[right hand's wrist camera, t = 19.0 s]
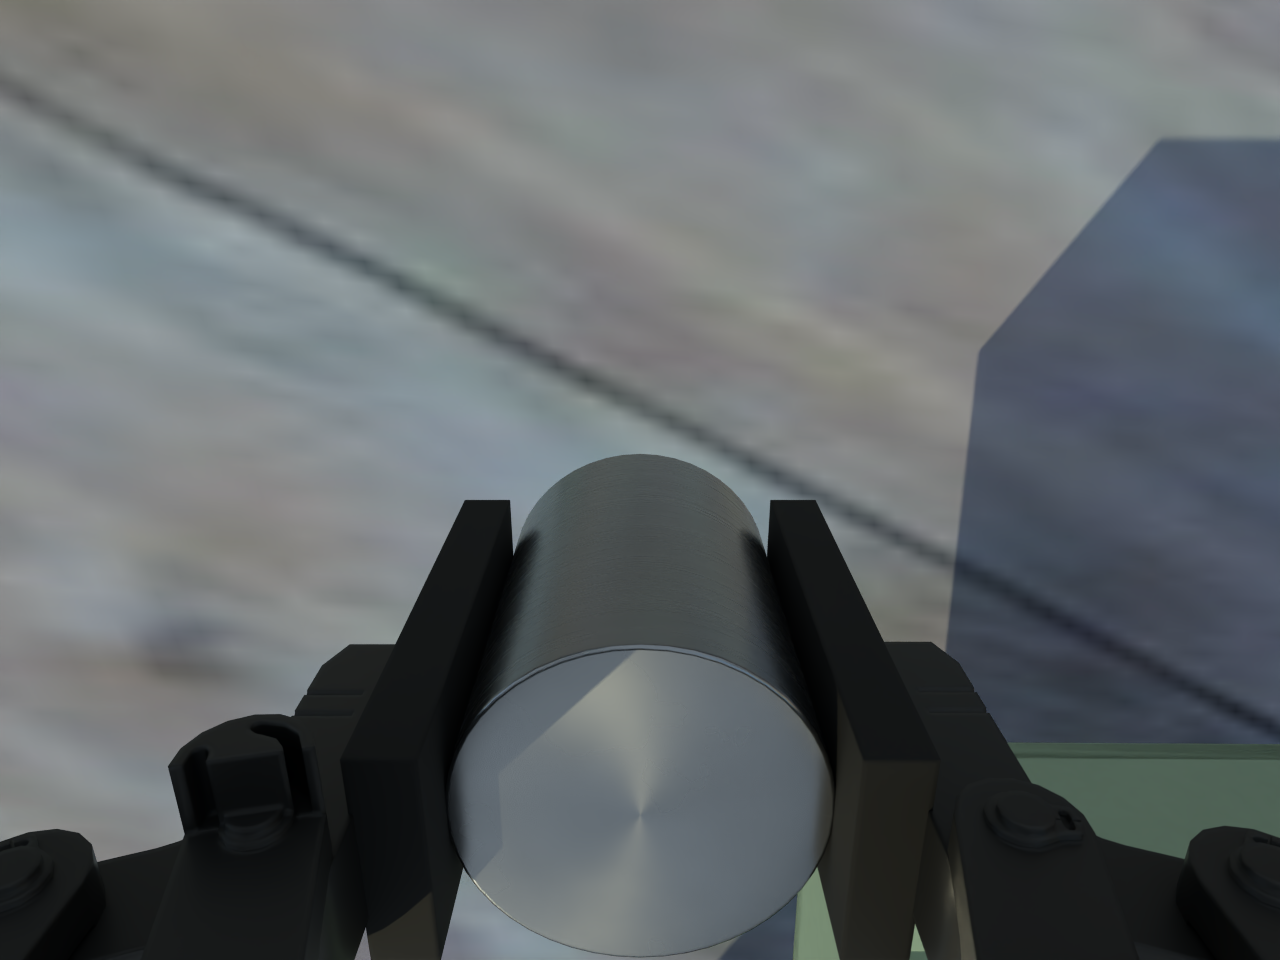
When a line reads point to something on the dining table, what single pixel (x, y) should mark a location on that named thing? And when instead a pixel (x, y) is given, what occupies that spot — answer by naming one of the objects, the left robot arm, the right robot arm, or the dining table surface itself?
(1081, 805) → the tray
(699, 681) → the grey metal peg
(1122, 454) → the dining table surface
